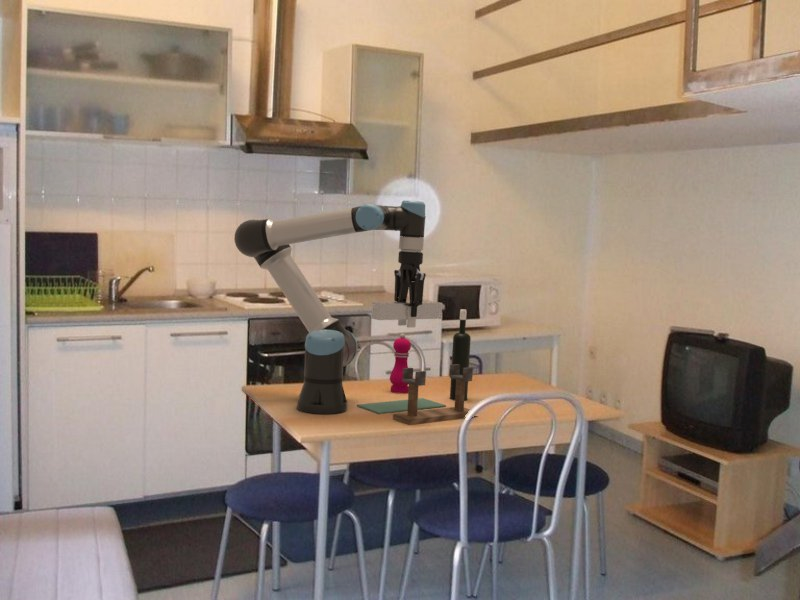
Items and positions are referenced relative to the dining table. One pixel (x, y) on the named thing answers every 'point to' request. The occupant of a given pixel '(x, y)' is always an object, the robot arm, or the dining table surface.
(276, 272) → the robot arm
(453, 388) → the wine bottle
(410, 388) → the hook stand
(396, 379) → the pepper mill
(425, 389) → the dining table surface
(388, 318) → the rail
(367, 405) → the mat
